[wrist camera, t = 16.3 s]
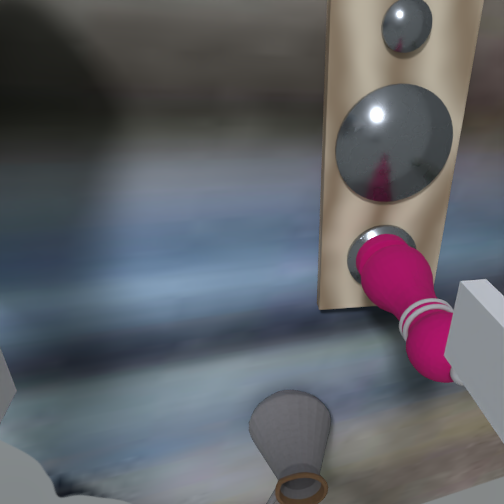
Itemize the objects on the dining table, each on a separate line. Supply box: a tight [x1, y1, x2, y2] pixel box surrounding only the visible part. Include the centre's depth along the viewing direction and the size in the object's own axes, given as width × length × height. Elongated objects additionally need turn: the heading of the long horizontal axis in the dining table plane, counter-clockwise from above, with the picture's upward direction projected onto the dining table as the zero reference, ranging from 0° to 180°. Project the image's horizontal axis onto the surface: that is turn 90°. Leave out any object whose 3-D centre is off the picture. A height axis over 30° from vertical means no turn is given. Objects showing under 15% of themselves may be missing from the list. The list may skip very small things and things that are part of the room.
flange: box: [347, 225, 417, 284], centre depth 52 cm, size 8×8×1 cm
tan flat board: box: [317, 0, 484, 310], centre depth 48 cm, size 14×36×2 cm, turn 2°
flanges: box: [335, 0, 453, 202], centre depth 44 cm, size 12×19×1 cm, turn 2°
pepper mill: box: [356, 234, 464, 386], centre depth 43 cm, size 7×7×20 cm
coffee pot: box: [249, 390, 331, 504], centre depth 60 cm, size 21×12×15 cm, turn 142°
